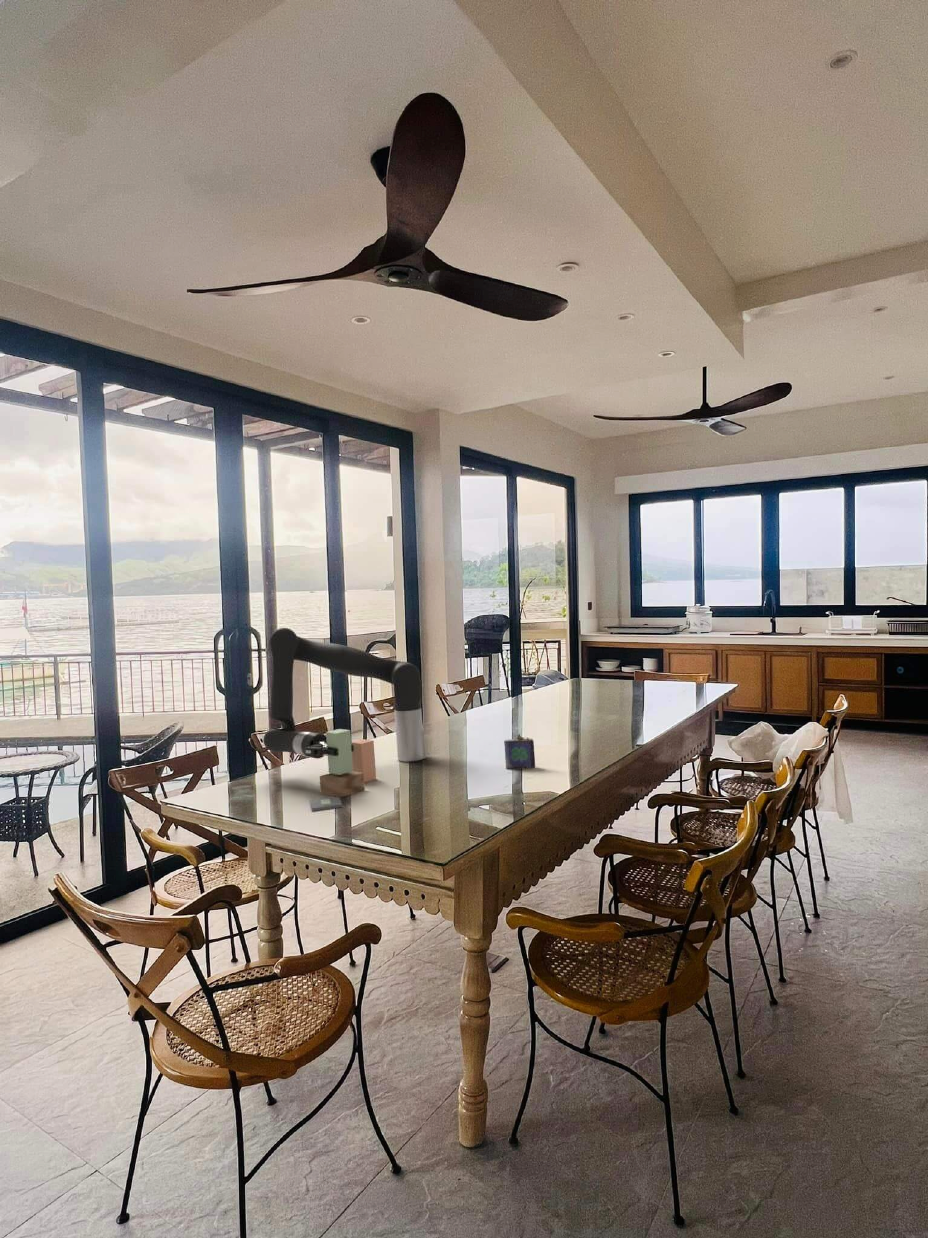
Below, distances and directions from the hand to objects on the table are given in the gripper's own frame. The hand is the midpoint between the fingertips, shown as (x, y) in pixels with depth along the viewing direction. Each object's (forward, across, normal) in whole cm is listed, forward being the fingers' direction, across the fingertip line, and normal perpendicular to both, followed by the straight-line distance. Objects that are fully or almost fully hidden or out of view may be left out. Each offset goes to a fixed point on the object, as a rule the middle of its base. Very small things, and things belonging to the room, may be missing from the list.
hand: (345, 750), depth 207 cm
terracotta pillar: (-7, +12, +12) cm, 19 cm away
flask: (+27, +46, +13) cm, 55 cm away
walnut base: (-3, 0, +12) cm, 13 cm away
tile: (+5, -11, +12) cm, 17 cm away
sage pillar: (-3, 0, +7) cm, 7 cm away
